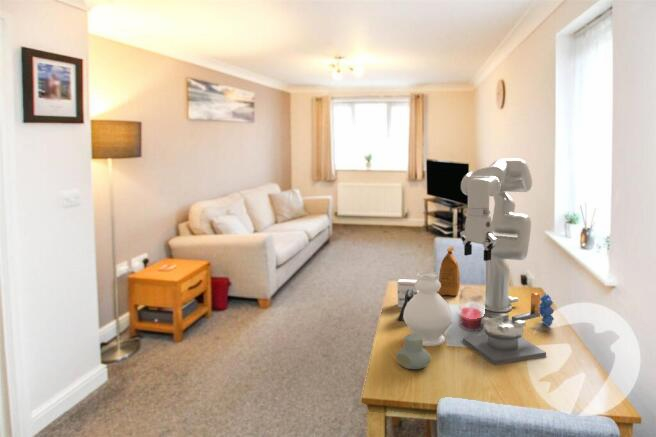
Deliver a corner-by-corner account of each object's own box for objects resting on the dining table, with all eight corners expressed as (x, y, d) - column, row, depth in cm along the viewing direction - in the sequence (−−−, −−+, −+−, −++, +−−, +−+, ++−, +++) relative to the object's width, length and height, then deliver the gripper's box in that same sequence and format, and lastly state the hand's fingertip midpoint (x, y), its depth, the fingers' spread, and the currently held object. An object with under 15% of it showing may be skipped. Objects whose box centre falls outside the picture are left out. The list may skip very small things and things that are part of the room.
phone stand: (421, 317, 207) (421, 289, 205) (419, 322, 202) (419, 294, 200) (399, 315, 210) (399, 288, 208) (397, 321, 204) (397, 293, 202)
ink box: (418, 304, 223) (418, 279, 221) (417, 308, 218) (417, 282, 216) (398, 303, 225) (398, 278, 223) (397, 307, 220) (397, 281, 218)
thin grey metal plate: (510, 334, 187) (510, 319, 186) (546, 356, 168) (546, 339, 167) (462, 341, 182) (462, 325, 181) (493, 364, 163) (494, 347, 162)
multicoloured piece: (502, 342, 166) (503, 309, 164) (475, 329, 177) (476, 298, 175) (552, 329, 175) (553, 298, 173) (523, 317, 187) (524, 288, 185)
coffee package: (462, 290, 241) (462, 245, 238) (458, 298, 230) (458, 251, 226) (441, 288, 245) (441, 244, 241) (436, 295, 234) (436, 250, 230)
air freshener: (434, 368, 162) (434, 339, 161) (416, 375, 158) (416, 345, 156) (410, 356, 171) (410, 329, 170) (392, 363, 166) (392, 335, 165)
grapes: (531, 318, 202) (532, 290, 200) (548, 319, 201) (549, 290, 199) (538, 329, 191) (539, 299, 189) (556, 330, 190) (558, 300, 188)
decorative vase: (398, 345, 180) (398, 279, 176) (409, 327, 196) (408, 266, 192) (448, 352, 174) (449, 283, 170) (455, 332, 190) (455, 269, 186)
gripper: (504, 213, 176) (502, 260, 179) (468, 208, 191) (468, 251, 194) (488, 216, 172) (487, 264, 175) (453, 210, 187) (453, 254, 190)
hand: (477, 257), depth 185 cm, fingers open, 9 cm apart
